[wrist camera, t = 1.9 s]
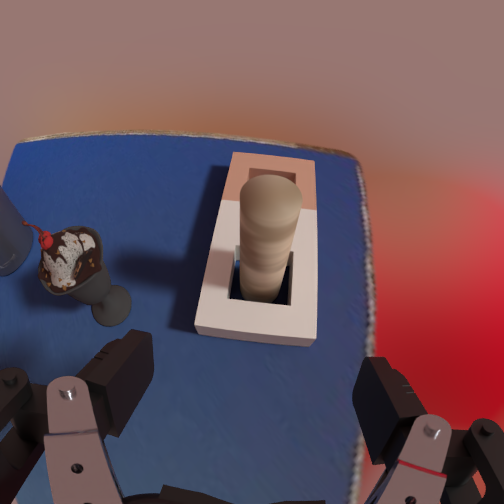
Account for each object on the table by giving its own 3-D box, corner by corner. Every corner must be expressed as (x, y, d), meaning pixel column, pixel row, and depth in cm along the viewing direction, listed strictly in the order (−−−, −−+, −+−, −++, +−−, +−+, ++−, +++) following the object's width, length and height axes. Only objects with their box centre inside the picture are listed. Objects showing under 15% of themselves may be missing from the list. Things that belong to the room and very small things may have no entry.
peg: (232, 282, 31) (227, 188, 20) (264, 263, 33) (277, 167, 21) (254, 313, 30) (263, 230, 18) (287, 292, 31) (315, 204, 19)
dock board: (233, 168, 41) (233, 152, 38) (310, 176, 41) (314, 160, 38) (198, 334, 28) (194, 324, 26) (309, 346, 28) (316, 338, 25)
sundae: (79, 294, 30) (7, 212, 17) (127, 269, 32) (73, 174, 19) (94, 344, 27) (7, 277, 14) (147, 318, 29) (85, 233, 16)
